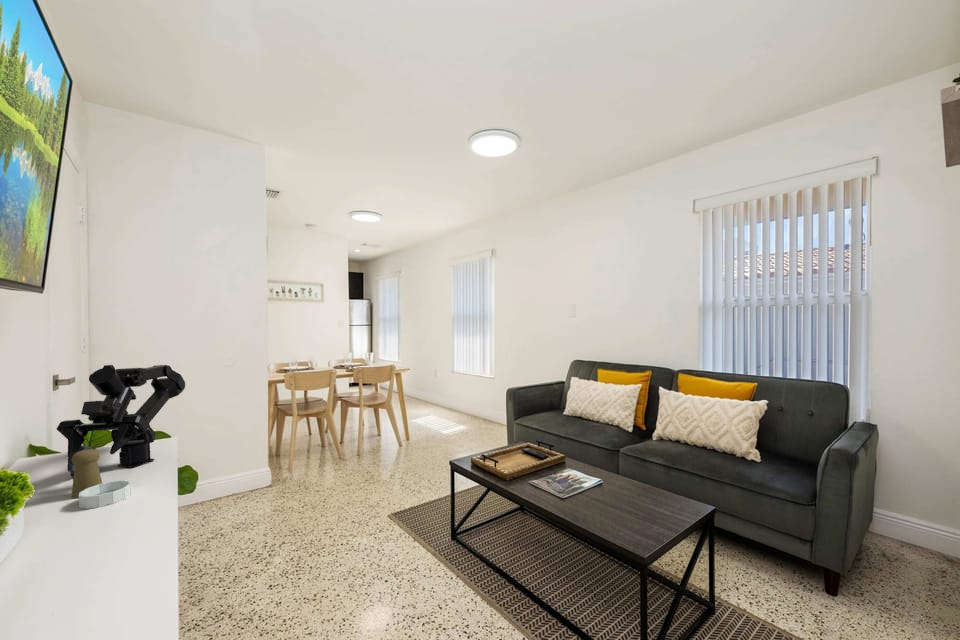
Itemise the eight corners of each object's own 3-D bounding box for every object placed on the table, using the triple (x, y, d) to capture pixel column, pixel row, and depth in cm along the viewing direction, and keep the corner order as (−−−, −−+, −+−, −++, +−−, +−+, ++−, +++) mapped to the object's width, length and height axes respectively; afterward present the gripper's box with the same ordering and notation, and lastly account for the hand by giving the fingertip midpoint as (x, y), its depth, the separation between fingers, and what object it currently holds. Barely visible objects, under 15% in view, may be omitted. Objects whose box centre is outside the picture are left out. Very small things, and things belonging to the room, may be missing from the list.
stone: (68, 472, 121) (67, 438, 121) (96, 466, 126) (95, 433, 125) (67, 485, 111) (65, 448, 111) (98, 478, 116) (96, 443, 116)
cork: (66, 500, 102) (64, 456, 102) (76, 491, 107) (74, 449, 107) (98, 494, 105) (96, 451, 104) (107, 486, 110) (104, 445, 110)
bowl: (114, 489, 108) (114, 478, 108) (140, 493, 105) (139, 482, 105) (69, 506, 99) (69, 494, 99) (96, 510, 96) (95, 498, 96)
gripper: (59, 391, 110) (27, 444, 100) (140, 385, 115) (117, 436, 104) (82, 413, 118) (54, 465, 107) (157, 408, 122) (137, 457, 112)
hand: (90, 455), depth 107 cm, fingers open, 9 cm apart
